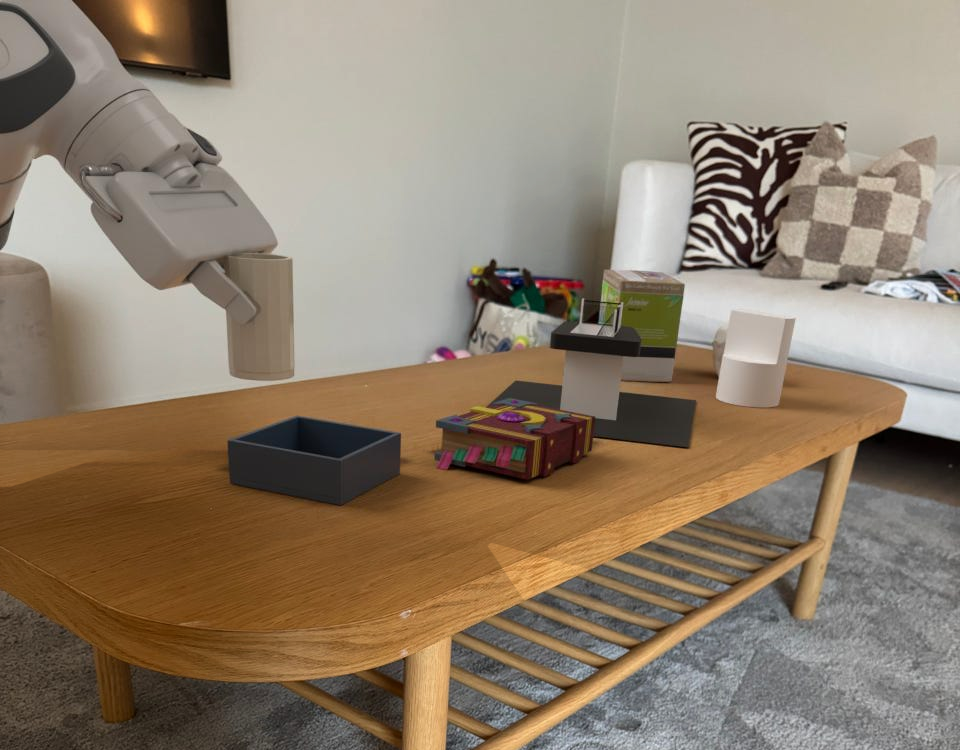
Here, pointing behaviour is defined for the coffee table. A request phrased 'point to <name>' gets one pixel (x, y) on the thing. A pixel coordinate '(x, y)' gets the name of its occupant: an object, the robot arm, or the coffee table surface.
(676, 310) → the tea box
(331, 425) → the slate bin
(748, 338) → the base with upright slab
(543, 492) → the coffee table surface
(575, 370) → the black-topped pedestal
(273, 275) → the cream cup
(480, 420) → the decorative book
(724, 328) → the penguin figurine
